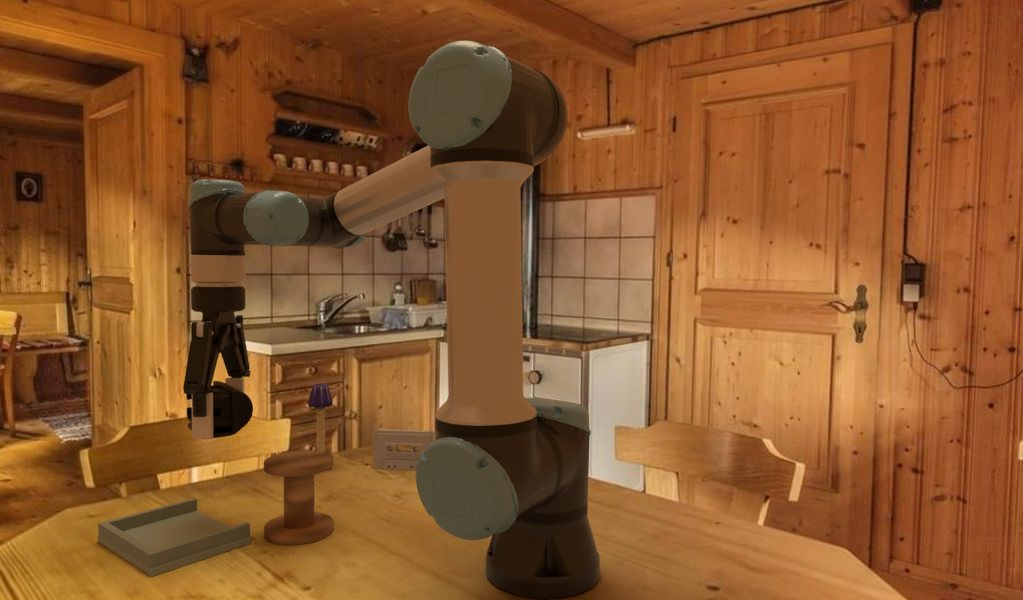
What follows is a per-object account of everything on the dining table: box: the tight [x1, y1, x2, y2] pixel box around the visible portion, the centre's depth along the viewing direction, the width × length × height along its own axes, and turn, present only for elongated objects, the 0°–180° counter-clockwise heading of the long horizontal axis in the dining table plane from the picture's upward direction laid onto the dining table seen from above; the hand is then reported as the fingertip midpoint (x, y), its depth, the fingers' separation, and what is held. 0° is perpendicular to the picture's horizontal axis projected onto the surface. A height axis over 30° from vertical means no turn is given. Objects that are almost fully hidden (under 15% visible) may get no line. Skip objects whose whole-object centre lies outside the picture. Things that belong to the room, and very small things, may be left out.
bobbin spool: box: [263, 450, 334, 546], centre depth 104 cm, size 10×10×11 cm
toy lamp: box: [307, 383, 334, 470], centre depth 135 cm, size 5×5×17 cm
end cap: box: [185, 380, 254, 439], centre depth 105 cm, size 10×7×7 cm
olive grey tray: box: [97, 497, 252, 578], centre depth 100 cm, size 17×14×3 cm
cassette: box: [373, 428, 435, 471], centre depth 137 cm, size 12×2×8 cm, turn 86°
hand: (219, 427), depth 105 cm, fingers closed on end cap, 12 cm apart
